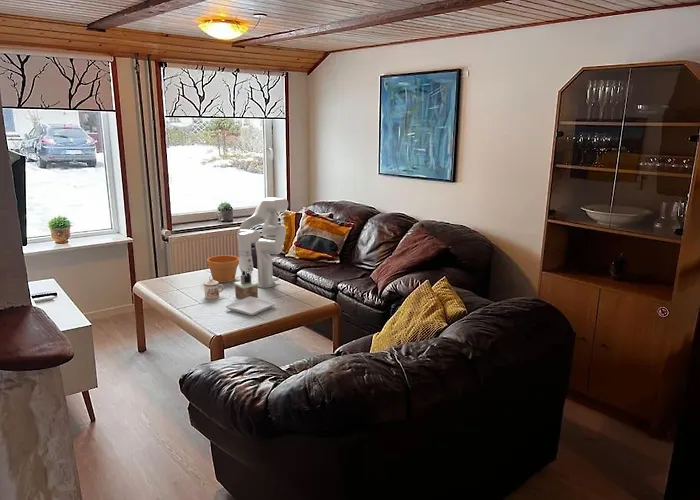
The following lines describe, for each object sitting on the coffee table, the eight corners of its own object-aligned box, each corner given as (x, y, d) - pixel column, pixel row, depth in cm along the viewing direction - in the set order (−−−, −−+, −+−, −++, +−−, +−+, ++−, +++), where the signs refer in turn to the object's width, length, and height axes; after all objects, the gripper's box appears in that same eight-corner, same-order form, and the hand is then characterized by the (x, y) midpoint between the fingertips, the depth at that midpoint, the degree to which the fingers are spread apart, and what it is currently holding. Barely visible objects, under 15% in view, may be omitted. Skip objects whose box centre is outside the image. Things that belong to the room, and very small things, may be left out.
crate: (249, 293, 343) (249, 281, 341) (257, 297, 336) (257, 285, 334) (235, 296, 337) (235, 284, 335) (243, 300, 329) (243, 288, 328)
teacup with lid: (206, 300, 330) (205, 281, 327) (203, 295, 338) (202, 277, 335) (225, 297, 335) (225, 279, 333) (222, 293, 343) (221, 275, 341)
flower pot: (229, 273, 386) (228, 253, 383) (245, 280, 371) (244, 259, 368) (202, 279, 373) (201, 258, 369) (218, 286, 358) (216, 264, 354)
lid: (249, 281, 342) (249, 271, 340) (258, 285, 334) (258, 275, 332) (233, 284, 335) (233, 274, 333) (242, 288, 327) (242, 278, 325)
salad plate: (252, 318, 301) (251, 313, 301) (224, 311, 313) (224, 305, 312) (276, 308, 319) (276, 302, 318) (250, 301, 330) (249, 295, 329)
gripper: (257, 254, 326) (258, 283, 330) (243, 249, 338) (244, 277, 342) (246, 256, 321) (247, 285, 326) (233, 251, 333) (234, 279, 337)
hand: (246, 281), depth 334 cm, fingers open, 2 cm apart
